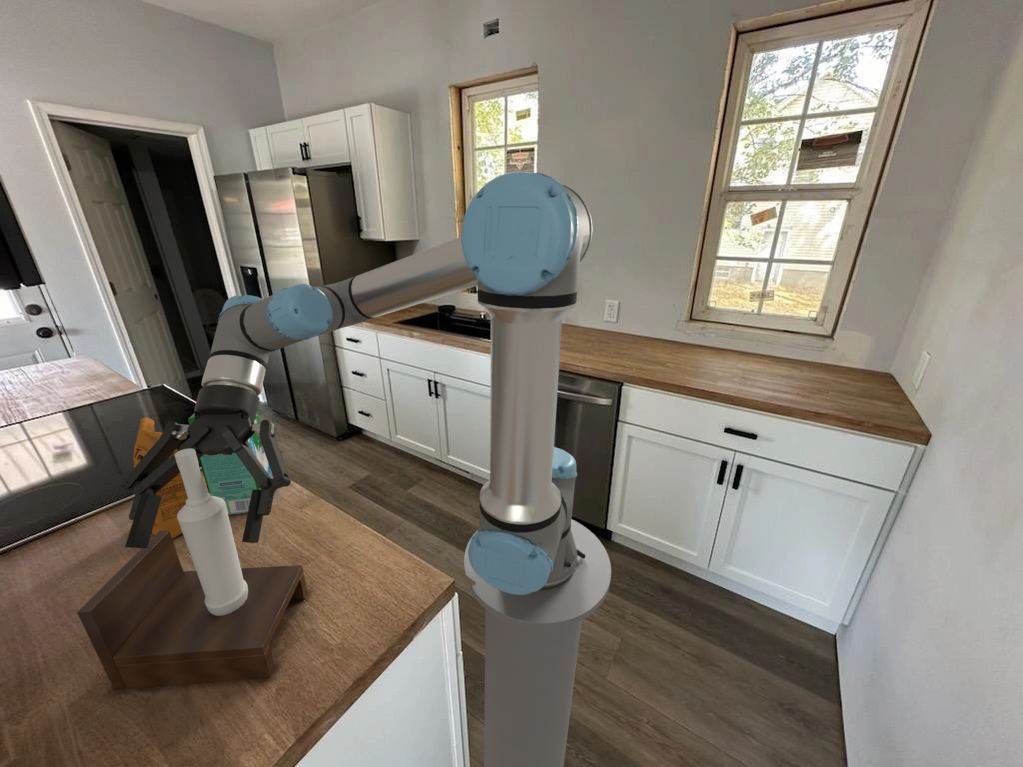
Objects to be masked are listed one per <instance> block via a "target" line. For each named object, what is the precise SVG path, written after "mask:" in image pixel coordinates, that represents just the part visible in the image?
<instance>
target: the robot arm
mask: <svg viewBox="0 0 1023 767" xmlns="http://www.w3.org/2000/svg"><path fill="white" fill-rule="evenodd" d="M593 228H594V227H593V218H592V214H591V211H590V209H589V207H588V205H587V204H586V202H585V200H584V199H583V198H582V197H581V195H580V194H579V193H578V192H576V191H575V190H574V189H572V188H570V187H568V186H567V185H564V184H562V183H561V182H559V181H558V180H556V179H555V178H553V177H552V176H550V175H547V174H545V173H542V172H532V171H511V172H506V173H503V174H500V175H498V176H496V177H493V179H491V180H490V181H488V182H486V184H484V185H483V186H482V187H481V188H480V189H479V190H478V192H477V193H476V194H474V196H473V197H472V199H471V201H470V202H469V203H468V206H467V209H466V211H465V214H464V216H463V219H462V224H461V230H460V236H459V237H457V238H454V239H450V240H449V241H446V242H443V243H440V244H438V245H435V246H433V247H430V248H427V249H425V250H422V251H419V252H416V253H413V254H412V255H411V254H410V255H408V256H406V257H402V258H401V259H397V260H395V261H393V262H390V263H388V264H384V265H382V266H379V267H377V268H374V269H371V270H368V271H365V272H364V273H360V274H358V275H355V276H352V277H350V278H347V279H344V280H341V281H338V282H335V283H331V284H326V285H325V284H324V285H318V286H312V285H310V284H307V283H298V284H294V285H292V286H288V287H283V288H281V289H279V290H278V291H277V292H275V293H273V294H271V295H270V296H267V297H265V298H261V297H259V296H255V295H249V294H244V295H234V296H231V297H229V298H228V299H226V301H225V303H224V305H223V306H222V310H221V312H220V313H219V315H218V318H217V325H216V330H215V333H214V337H213V342H212V345H211V349H210V352H209V357H208V360H207V363H206V366H205V369H204V373H203V376H202V380H201V386H202V387H201V388H200V389H199V391H198V394H197V399H196V402H195V406H194V408H193V409H194V411H193V412H194V413H195V417H194V420H193V422H192V423H191V424H190V425H189V424H183V423H182V424H181V423H178V422H175V421H173V420H170V421H168V422H167V423H166V424H165V426H164V429H163V431H162V432H161V433H162V436H161V437H160V438H159V439H158V441H157V442H156V443H155V444H154V445H153V446H152V448H151V449H150V450H149V451H148V452H147V453H146V455H145V456H144V457H143V458H142V459H141V461H140V462H139V463H138V464H137V465H136V466H135V468H134V467H133V469H132V470H131V471H130V472H129V473H128V475H127V476H125V478H124V479H123V480H122V482H121V483H120V488H121V489H124V490H127V491H130V492H133V493H134V498H133V501H132V503H131V508H130V511H129V514H128V520H129V521H130V520H131V521H132V523H131V527H130V530H129V533H128V536H127V540H126V542H125V546H124V548H129V549H130V548H131V549H141V548H147V547H148V544H149V540H150V539H151V538H152V537H151V536H152V530H153V526H154V523H155V519H156V516H157V512H158V509H159V505H160V502H161V498H162V496H159V495H157V492H158V491H160V490H161V489H162V488H163V487H164V486H165V485H167V484H168V483H169V482H170V481H171V480H172V479H173V478H175V477H176V476H177V475H178V474H179V473H180V470H179V468H178V465H177V462H176V459H175V454H173V455H172V453H173V452H174V451H175V450H176V449H178V451H180V450H184V449H194V450H195V452H196V455H197V459H198V460H199V458H201V457H202V456H203V455H204V454H207V455H218V454H224V455H232V453H236V454H237V456H238V457H239V458H240V460H241V461H242V463H243V464H244V465H245V467H246V468H247V470H248V471H249V473H250V474H251V475H252V477H253V478H254V480H255V481H256V482H257V484H258V485H259V486H257V487H259V488H261V490H252V494H251V499H250V504H249V509H248V512H247V514H246V520H245V524H244V530H243V534H242V540H241V542H242V543H249V544H258V543H259V540H260V536H261V530H262V525H263V524H262V523H263V519H264V516H269V515H270V514H271V512H272V506H273V502H274V501H273V500H274V495H275V492H276V491H277V490H279V489H281V488H285V487H286V488H287V487H289V486H290V485H291V483H292V479H291V476H290V474H289V472H288V469H287V466H286V463H285V460H284V457H283V455H282V452H281V449H280V447H279V443H278V440H277V429H278V428H277V426H276V425H275V424H274V423H273V422H271V421H270V420H268V419H263V420H260V423H257V424H254V419H255V418H256V415H257V410H258V409H259V404H260V397H259V396H260V395H261V394H262V390H263V385H264V381H265V376H266V371H267V367H268V361H269V358H270V353H272V352H275V351H278V350H281V349H282V348H285V347H288V346H291V345H294V344H297V343H300V342H303V341H306V340H309V339H312V338H315V337H316V338H317V337H318V336H321V335H324V334H328V333H331V332H335V331H336V330H340V329H344V328H347V327H351V326H354V325H358V324H361V323H365V322H368V321H369V320H373V319H375V318H378V317H381V316H386V315H388V314H392V313H394V312H397V311H401V310H405V309H407V308H410V307H414V306H417V305H420V304H423V303H426V302H430V301H433V300H436V299H439V298H442V297H446V296H449V295H452V294H455V293H459V292H461V291H465V290H468V289H471V288H475V287H477V288H476V289H477V303H478V304H479V305H480V307H482V309H484V310H485V311H486V312H487V314H488V315H489V317H490V390H489V391H490V396H489V398H490V403H489V404H490V407H489V409H490V413H489V414H490V420H489V421H490V423H489V424H490V426H489V427H490V428H489V429H490V430H489V431H490V432H489V434H490V436H489V439H490V444H489V446H490V448H489V451H490V456H489V457H490V458H489V459H490V460H489V466H490V467H489V470H490V471H489V480H487V481H485V483H484V484H483V485H482V487H481V489H480V491H479V506H478V507H479V522H478V523H479V524H478V528H477V530H478V531H477V530H476V531H477V533H476V534H474V533H473V535H474V536H473V535H472V536H473V537H472V536H471V537H472V539H471V538H470V539H471V543H470V546H469V549H468V557H469V561H470V564H471V566H472V568H473V569H474V571H475V572H476V573H477V575H478V576H479V577H481V578H482V579H483V580H484V581H485V582H486V583H487V584H489V585H490V586H492V587H494V588H496V589H498V590H500V591H503V592H506V593H510V594H515V595H526V594H530V593H532V592H536V591H538V590H547V589H553V588H556V587H559V586H561V585H563V584H564V583H566V582H567V581H568V580H569V579H570V578H571V577H572V576H573V574H574V573H575V570H576V566H577V555H578V556H579V557H581V558H583V559H584V558H585V556H586V555H585V554H583V553H582V552H580V551H579V550H578V549H576V545H575V542H574V538H573V535H572V531H571V519H572V517H573V508H574V499H575V498H574V497H575V487H576V486H575V485H576V478H577V477H578V472H577V462H576V459H575V457H574V456H573V455H572V454H570V452H567V451H566V450H564V449H562V448H558V447H556V446H555V438H556V437H555V435H556V421H557V405H558V404H557V403H558V390H559V373H560V361H561V360H560V358H561V344H562V343H561V342H562V328H563V319H564V317H566V315H568V313H569V312H570V311H571V310H573V309H574V308H575V307H576V306H577V300H578V289H579V276H580V264H581V262H582V261H583V260H584V258H585V257H586V255H587V253H588V252H589V249H590V247H591V242H592V240H593V233H594V232H593V231H594V229H593ZM258 411H259V410H258ZM194 413H193V414H194ZM255 432H256V435H257V436H259V437H260V440H261V443H262V446H263V449H264V452H265V455H266V458H267V461H268V463H269V466H270V470H271V475H272V478H271V477H270V475H269V474H268V473H267V471H266V470H265V469H264V467H263V466H262V464H261V463H260V462H259V460H258V459H257V458H256V456H255V455H254V453H253V451H252V449H251V448H250V446H249V445H248V444H247V441H248V440H249V439H250V438H251V437H252V436H253V434H254V433H255ZM188 435H189V438H188V437H187V436H188ZM187 438H188V439H187ZM186 439H187V440H186ZM183 440H185V441H183ZM182 441H183V443H182ZM181 443H182V444H181ZM178 451H177V452H178ZM177 452H176V453H177ZM171 455H172V456H171ZM170 456H171V457H170ZM169 457H170V458H169ZM168 458H169V459H168ZM167 459H168V460H167ZM572 520H573V519H572Z"/></svg>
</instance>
